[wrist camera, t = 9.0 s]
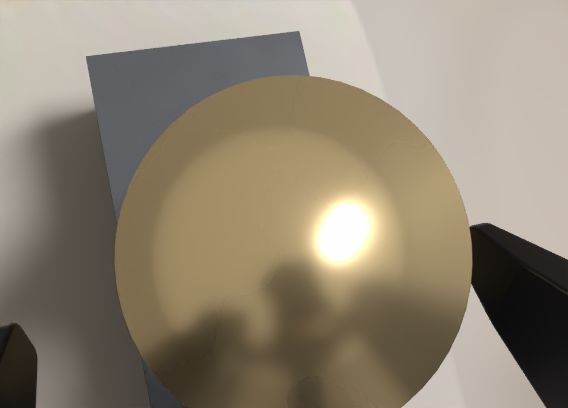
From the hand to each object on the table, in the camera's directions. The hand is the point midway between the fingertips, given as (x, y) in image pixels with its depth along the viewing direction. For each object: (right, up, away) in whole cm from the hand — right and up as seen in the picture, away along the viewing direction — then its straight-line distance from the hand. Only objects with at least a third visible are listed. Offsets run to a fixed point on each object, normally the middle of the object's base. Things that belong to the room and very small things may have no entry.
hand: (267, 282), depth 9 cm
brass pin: (-2, 0, +9) cm, 9 cm away
